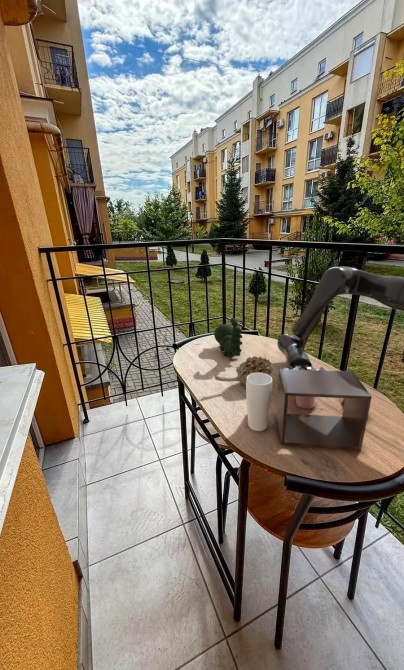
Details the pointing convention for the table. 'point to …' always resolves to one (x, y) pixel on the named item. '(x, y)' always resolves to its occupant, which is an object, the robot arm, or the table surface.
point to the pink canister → (305, 401)
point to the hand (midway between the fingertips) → (307, 386)
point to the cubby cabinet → (316, 427)
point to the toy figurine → (229, 338)
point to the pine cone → (250, 369)
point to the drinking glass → (258, 400)
